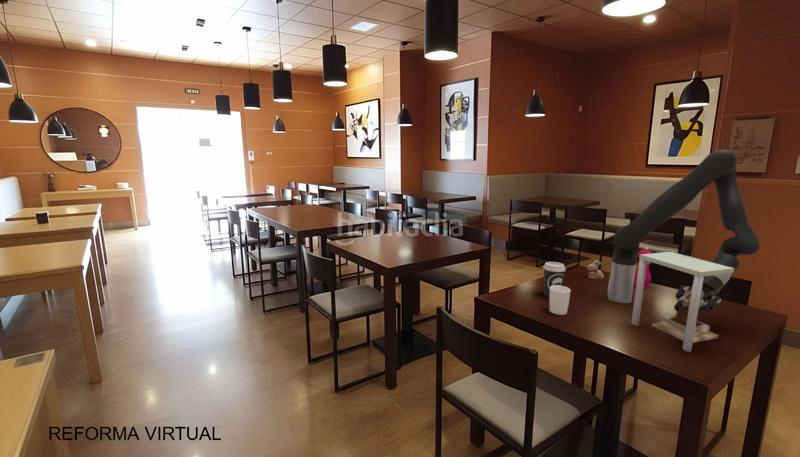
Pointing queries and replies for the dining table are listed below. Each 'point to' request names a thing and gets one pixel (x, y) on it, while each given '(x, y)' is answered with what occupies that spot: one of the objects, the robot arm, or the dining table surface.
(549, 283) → the coffee cup
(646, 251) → the pepper mill
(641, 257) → the white bench
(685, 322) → the utensil holder
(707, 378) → the dining table surface
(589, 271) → the chocolate bunny
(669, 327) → the socket block
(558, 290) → the white cup
